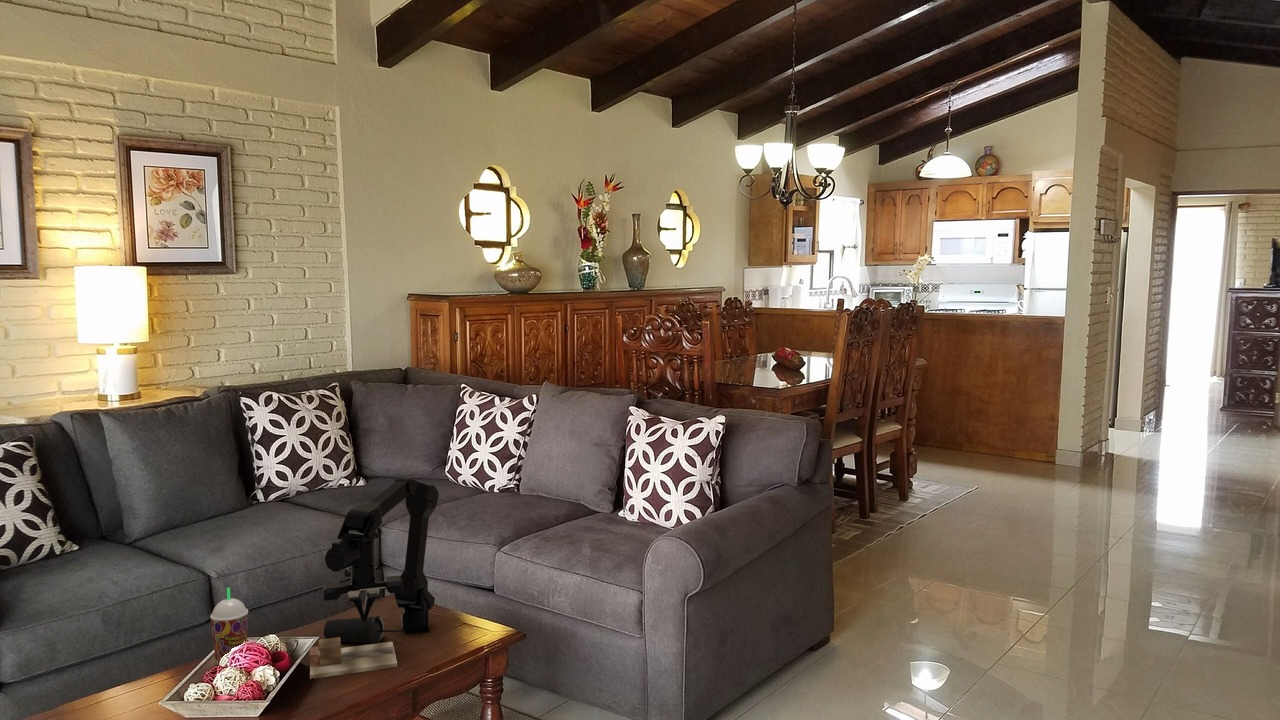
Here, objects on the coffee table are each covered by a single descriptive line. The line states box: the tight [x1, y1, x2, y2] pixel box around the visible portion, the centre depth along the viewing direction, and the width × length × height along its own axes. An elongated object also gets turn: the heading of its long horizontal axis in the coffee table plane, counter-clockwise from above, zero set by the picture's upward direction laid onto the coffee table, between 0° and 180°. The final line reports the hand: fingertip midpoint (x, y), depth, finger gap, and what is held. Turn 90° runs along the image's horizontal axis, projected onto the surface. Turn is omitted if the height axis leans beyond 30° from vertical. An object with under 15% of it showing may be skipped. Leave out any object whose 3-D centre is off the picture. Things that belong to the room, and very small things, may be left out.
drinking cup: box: [323, 615, 402, 645], centre depth 233 cm, size 8×8×20 cm
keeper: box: [318, 637, 342, 665], centre depth 218 cm, size 5×6×4 cm
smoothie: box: [209, 587, 249, 662], centre depth 216 cm, size 8×8×20 cm
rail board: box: [309, 641, 398, 680], centre depth 220 cm, size 20×14×4 cm
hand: (364, 621), depth 220 cm, fingers closed
